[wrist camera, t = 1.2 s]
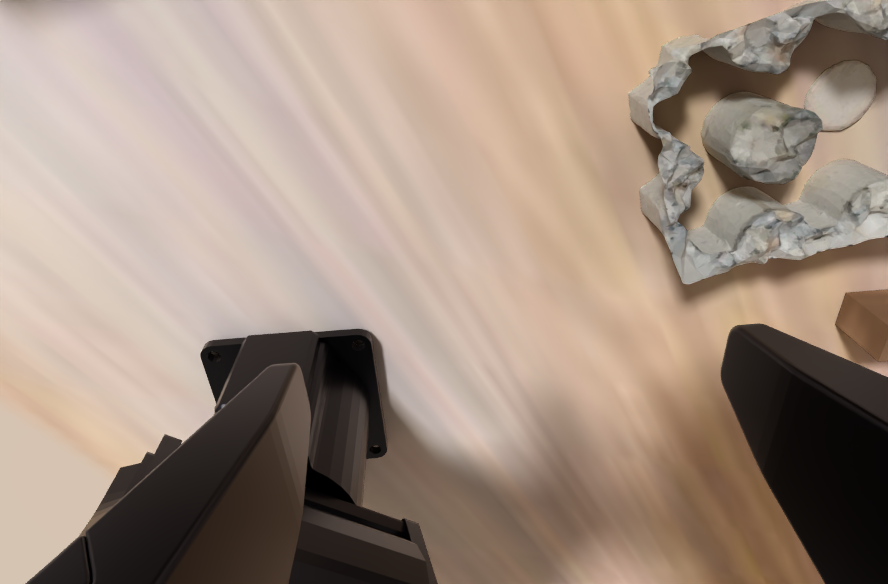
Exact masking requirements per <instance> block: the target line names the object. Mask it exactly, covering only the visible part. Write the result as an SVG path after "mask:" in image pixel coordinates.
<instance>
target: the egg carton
mask: <svg viewBox="0 0 888 584" xmlns="http://www.w3.org/2000/svg"><path fill="white" fill-rule="evenodd" d="M813 20H816V21H817V22H818V23H820V24H822V25H824V26H827V27H830V28H834V29H838V30H842V31H848V32H856V33H863V34H870V35H872V36H874V37H877V38H880V39H884V40H888V0H826V1H822V0H819V1H815V0H807V1H803V2H800V3H798V4H796V5H794V6H792V7H790V8H788V9H786V10H784V11H782V12H780V13H777V14H774V15H772V16H769V17H767V18H764V19H761V20H758V21H756V22H753V23H750V24H748V25H745V26H742V27H739V28H737V29H734V30H731V31H728V32H725V33H722V34H719V35H717V36H715V37H713V38H711V39H708V38H702V37H700V36H699V35H691V36H684V37H680V38H676V39H674V40H672V41H670V42H668V43H666V44H665V45H663V46H662V49H661V53H660V58H659V62H658V64H657V66H656V68H651V69H650V70H649V74H650V76H649V77H648V78H647V79H646V80H645V81H644V82H643V83H641V84H640V85H639V86H637V87H636V88H634V89H633V90H632V91H630V92H629V93H628V94H629V106H630V117H631V120H632V121H633V122H635V123H636V124H637V125H639V126H641V127H642V128H643V129H644V130H645V131H646V132H648V133H649V134H651V136H654V137H656V138H658V139H661V140H662V144H663V148H662V151H661V153H660V154H659V156H658V167H659V173H658V175H657V176H656V177H655V178H653V179H652V181H650V182H648V183H647V184H645V185H644V186H642V187H641V188H640V192H639V193H640V201H641V210H642V212H643V214H644V215H645V216H647V217H648V218H649V219H650V221H651V222H652V223H653V224H654V225H655V226H656V227H657V228H658V229H659V230H660V231H661V233H662V234H663V236H664V237H665V240H666V242H667V244H668V247H669V249H670V251H671V254H672V257H673V261H674V263H675V265H676V268H677V270H678V273H679V275H680V277H681V280H682V282H683V284H692V283H694V282H697V281H700V280H702V279H705V278H708V277H711V276H714V275H717V274H721V273H725V272H728V271H730V270H731V269H732V268H733V267H735V266H738V265H743V264H747V263H753V262H754V263H758V264H766V263H767V261H768V259H770V258H784V259H793V260H802V259H804V258H806V257H809V256H811V255H813V254H816V253H818V252H822V251H825V250H829V249H835V248H841V247H847V246H853V245H855V244H858V243H861V242H863V241H866V240H869V239H876V238H883V237H888V175H886V174H884V173H882V172H879V171H877V170H875V169H873V168H870V167H868V166H866V165H863V164H861V163H859V162H857V161H855V160H850V159H838V160H835V161H833V162H830V163H828V164H826V165H825V166H823V167H821V168H819V169H818V170H817V171H816V172H815V173H814V174H813V175H812V176H811V177H810V179H809V180H808V181H807V183H806V184H805V186H804V189H803V191H802V193H801V196H800V198H799V200H797V201H795V202H792V203H789V204H785V205H782V204H781V203H779V202H778V201H776V200H774V199H773V198H771V197H770V196H769V195H767V194H766V193H764V192H762V191H761V190H759V189H757V188H755V187H751V186H745V187H739V188H734V189H731V190H729V191H727V192H725V193H724V194H722V195H721V196H720V197H719V198H718V199H717V200H716V201H715V202H714V203H713V205H712V206H711V208H710V210H709V211H708V214H707V216H706V220H705V223H704V225H703V226H702V227H699V228H696V229H692V230H689V231H687V230H686V229H685V227H684V226H682V225H681V224H680V223H679V222H677V220H678V218H679V215H680V214H681V213H683V212H685V211H687V210H688V209H689V208H690V205H691V191H692V189H693V188H694V187H695V186H696V185H697V184H698V183H699V182H700V180H701V179H702V176H703V173H704V169H703V165H704V160H703V158H701V157H699V156H698V155H696V154H695V153H693V152H692V151H691V150H690V146H688V145H686V144H684V143H682V142H681V141H679V140H678V139H676V138H675V137H674V136H672V135H671V133H670V132H667V131H665V130H664V129H662V128H661V127H659V126H658V125H656V124H654V123H653V107H654V106H655V105H656V104H657V103H659V102H660V101H662V100H664V99H667V98H670V97H672V96H674V95H676V94H678V92H679V90H680V89H681V87H682V85H683V83H684V82H685V80H686V79H687V78H688V76H689V75H690V74H691V72H692V68H691V67H690V66H689V65H688V61H689V57H690V56H691V55H692V54H695V53H697V52H699V51H701V50H703V51H704V52H705V53H706V54H707V55H709V56H710V57H712V58H713V59H715V60H717V61H721V62H724V63H727V64H730V65H732V66H735V67H738V68H741V69H744V70H748V71H752V72H766V73H771V74H780V73H782V72H784V71H786V70H788V68H789V66H790V59H791V55H792V53H793V51H794V49H795V48H796V47H797V46H798V45H799V44H800V43H801V42H802V41H803V40H804V39H805V38H806V36H807V35H808V33H809V31H810V29H811V27H812V24H813ZM876 81H877V78H876V77H875V76H874V73H873V72H872V70H871V68H870V67H869V65H867V64H864V63H862V62H860V61H858V60H849V61H842V62H840V63H838V64H837V65H833V66H832V67H831V68H828V69H826V70H825V71H824V72H823V73H822V74H821V75H820V76H819V77H818V78H817V79H816V80H815V82H814V83H813V84H812V85H811V87H810V89H809V91H808V93H807V95H806V99H805V103H804V109H801V108H795V107H791V106H789V105H786V104H783V103H781V102H778V101H775V100H772V99H770V98H767V97H764V96H761V95H758V94H755V93H752V92H745V91H742V92H737V93H732V94H730V95H728V96H727V97H725V98H723V99H721V100H720V101H719V102H718V103H716V104H715V105H714V106H713V107H712V108H711V110H710V111H709V113H708V114H707V116H706V118H705V120H704V123H703V127H702V131H701V137H702V142H703V145H704V147H705V149H706V150H707V151H708V153H709V154H711V155H712V156H713V157H714V158H716V159H717V160H719V161H720V162H722V163H723V164H724V165H726V166H727V167H729V168H730V169H732V170H733V171H734V172H736V173H737V174H738V175H739V176H741V177H742V178H746V179H750V180H753V181H757V182H761V183H765V184H785V183H787V182H789V181H792V180H794V179H795V178H796V177H797V175H798V174H799V172H800V170H801V168H802V166H803V165H804V164H806V163H807V161H808V159H809V158H810V156H811V154H812V152H813V149H814V146H815V142H816V138H817V133H819V132H820V131H821V130H825V131H837V130H843V129H845V128H847V127H849V126H851V125H852V124H854V123H855V122H856V121H858V120H859V119H860V118H862V116H863V115H864V113H865V112H866V111H867V110H868V108H869V107H870V105H871V104H872V102H873V100H874V98H875V93H876Z"/></svg>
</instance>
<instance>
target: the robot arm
mask: <svg viewBox="0 0 888 584" xmlns="http://www.w3.org/2000/svg"><path fill="white" fill-rule="evenodd" d="M356 340H361V341H363V342H364V344H361V345H357V344H355V343H354V341H356ZM212 351H213V352H217V353H219V354H220V356H215V355H213V354H212V353H211V352H212ZM201 360H202V363H203V366H204V369H205V372H206V374H207V377H208V380H209V383H210V386H211V389H212V392H213V395H214V398H215V401H216V406H215V414H214V416H213V417H212V418H210V419H209V420H208V421H207V422H206V423H205V424H204V425H203V426H202V427H200V428H199V429H198V430H197V431H196V432H195V433H194V434H193V435H192V436H190V437H189V438H188V439H187V440H186V441H185V442H184V443H183V444H181V442H182V440H179V439H177V438H174V437H171V436H168V435H164V437H163V439H162V441H161V443H160V445H159V446H158V448H157V450H156V452H155V454H153V453H150V452H147V453H146V455H145V457H144V459H143V460H142V462H141V463H139V464H135V465H130V466H126V467H121V468H120V470H119V471H118V473H117V475H116V477H115V479H114V480H113V482H112V484H111V486H110V488H109V489H108V491H107V493H106V495H105V497H104V498H103V500H102V502H101V503H100V505H99V507H98V509H97V510H96V512H95V513H94V515H93V517H92V518H91V520H90V521H89V523H88V524H87V525H86V527H85V529H84V530H83V531H82V533H81V534H80V536H79V537H78V538H77V539H76V540H75V541H73V542H72V543H71V544H70V545H69V546H68V547H67V548H66V549H64V550H63V551H62V552H61V553H60V554H59V555H58V556H57V557H56V558H54V559H53V560H52V561H51V562H50V563H49V564H48V565H46V566H45V567H44V568H43V569H42V570H41V571H39V572H38V573H37V574H36V575H35V576H34V577H33V578H31V579H30V580H29V581H28V582H27V583H26V584H438V583H437V580H436V577H435V574H434V571H433V567H432V564H431V561H430V558H429V555H428V552H427V549H426V545H425V542H424V539H423V536H422V533H421V530H420V526H419V524H418V523H416V522H413V521H410V520H407V519H402V520H398V519H395V518H392V517H389V516H386V515H383V514H380V513H378V512H375V511H372V510H369V509H366V508H363V507H362V502H363V490H364V479H365V467H366V459H369V458H378V457H382V456H383V455H385V453H386V452H387V436H386V429H385V423H384V416H383V409H382V403H381V396H380V389H379V382H378V376H377V369H376V362H375V356H374V349H373V342H372V337H371V335H370V334H369V333H368V332H367V331H365V330H363V329H349V330H336V331H324V332H313V331H301V332H289V333H276V334H263V335H251V336H248V337H247V338H235V339H222V340H212V341H209V342H207V343H206V344H205V346H204V348H203V350H202V352H201ZM721 380H722V384H723V387H724V389H725V392H726V394H727V396H728V398H729V401H730V403H731V405H732V408H733V410H734V412H735V414H736V417H737V419H738V421H739V424H740V426H741V428H742V430H743V433H744V435H745V437H746V440H747V442H748V444H749V446H750V449H751V451H752V453H753V455H754V458H755V460H756V462H757V464H758V466H759V468H760V470H761V472H762V474H763V476H764V478H765V480H766V482H767V484H768V485H769V487H770V489H771V491H772V493H773V494H774V496H775V498H776V499H777V501H778V503H779V505H780V506H781V508H782V510H783V512H784V513H785V515H786V517H787V519H788V520H789V522H790V524H791V525H792V527H793V529H794V531H795V532H796V534H797V536H798V538H799V539H800V541H801V543H802V545H803V546H804V548H805V550H806V551H807V553H808V555H809V557H810V558H811V560H812V562H813V564H814V565H815V567H816V569H817V571H818V572H819V574H820V576H821V577H822V579H823V581H824V583H825V584H888V377H886V376H884V375H881V374H879V373H877V372H874V371H872V370H870V369H867V368H865V367H863V366H860V365H858V364H856V363H853V362H851V361H849V360H846V359H844V358H842V357H839V356H837V355H835V354H832V353H830V352H828V351H825V350H823V349H821V348H818V347H816V346H814V345H811V344H809V343H807V342H804V341H802V340H800V339H797V338H795V337H793V336H790V335H788V334H786V333H783V332H781V331H779V330H776V329H774V328H772V327H769V326H767V325H764V324H748V325H737V326H735V327H733V328H732V329H731V331H730V333H729V336H728V340H727V344H726V349H725V353H724V358H723V362H722V367H721ZM373 445H378V446H379V447H373Z"/></svg>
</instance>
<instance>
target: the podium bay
mask: <svg viewBox="0 0 888 584" xmlns="http://www.w3.org/2000/svg"><path fill="white" fill-rule="evenodd" d="M835 325H837V326H838V327H839V328H840V329H841V330H842V331H844V332H845V333H846V334H847V335H848V336H849V337H850V338H852V339H853V340H854V341H855V342H856V343H857V344H859V345H860V346H861V347H862V348H863V349H864V350H865V351H867V352H868V353H869V354H870V355H871V356H872V357H874V358H875V359H876V360H877V361H878V362H881V361H888V290H876V291H863V292H850V293H846V295H845V298H844V301H843V304H842V307H841V309H840V312H839V315H838V318H837V321H836V324H835Z"/></svg>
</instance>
